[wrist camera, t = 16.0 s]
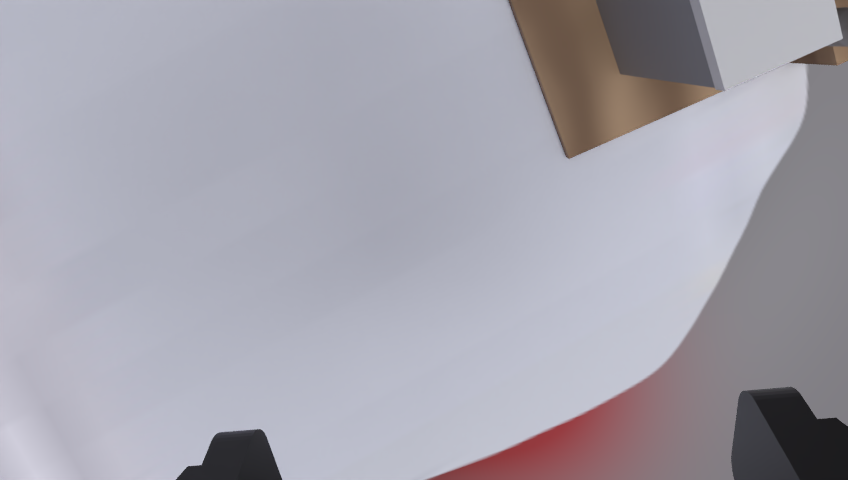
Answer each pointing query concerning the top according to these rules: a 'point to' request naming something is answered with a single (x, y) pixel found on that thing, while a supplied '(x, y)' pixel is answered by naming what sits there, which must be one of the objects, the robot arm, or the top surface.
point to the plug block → (715, 37)
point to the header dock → (609, 73)
